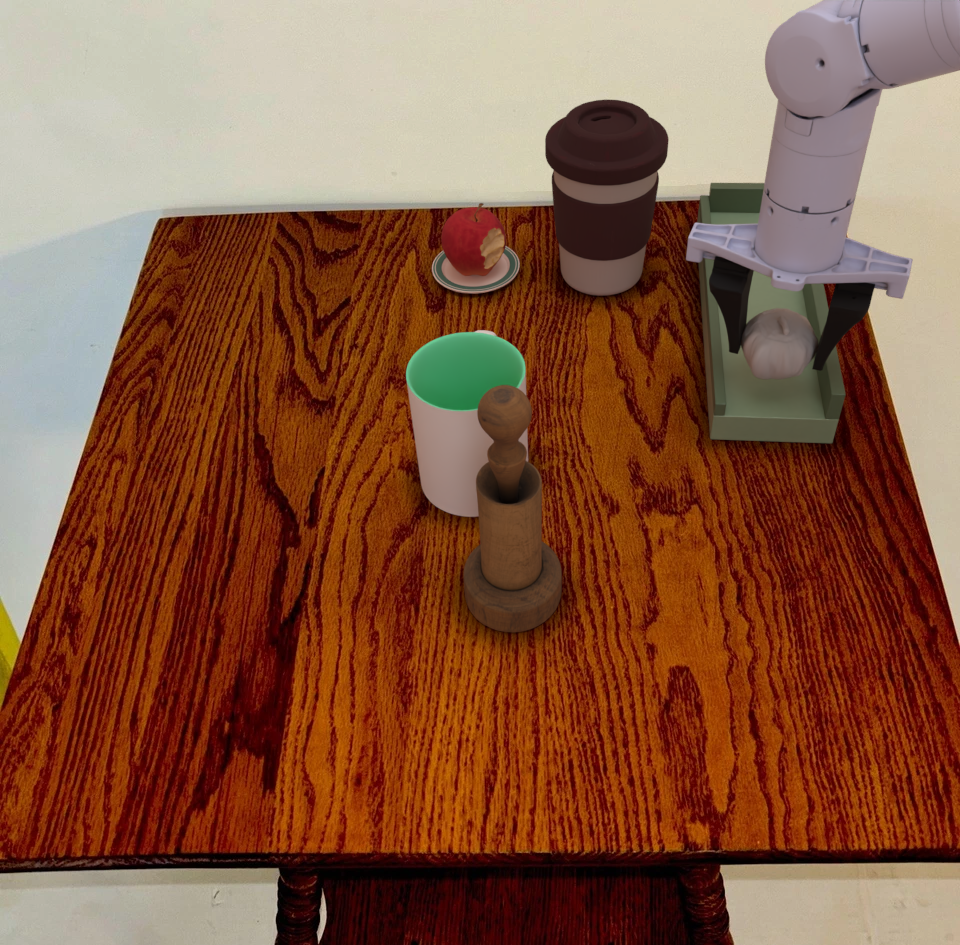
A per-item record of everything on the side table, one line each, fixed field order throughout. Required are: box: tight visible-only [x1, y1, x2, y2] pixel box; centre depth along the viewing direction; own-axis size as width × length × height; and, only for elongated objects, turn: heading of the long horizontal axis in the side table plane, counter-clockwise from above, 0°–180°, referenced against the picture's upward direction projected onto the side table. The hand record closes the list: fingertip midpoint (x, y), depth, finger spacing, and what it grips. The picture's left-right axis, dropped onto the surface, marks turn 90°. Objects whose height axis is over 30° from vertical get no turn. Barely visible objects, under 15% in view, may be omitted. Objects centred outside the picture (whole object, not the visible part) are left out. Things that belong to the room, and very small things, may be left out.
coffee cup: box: [544, 99, 670, 296], centre depth 88 cm, size 10×10×15 cm
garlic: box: [741, 308, 818, 379], centre depth 75 cm, size 6×5×5 cm
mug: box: [405, 329, 529, 518], centre depth 75 cm, size 12×8×10 cm
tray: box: [696, 182, 846, 444], centre depth 86 cm, size 28×9×5 cm, turn 174°
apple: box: [431, 202, 520, 294], centre depth 92 cm, size 8×8×6 cm
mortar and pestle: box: [463, 385, 563, 633], centre depth 63 cm, size 7×6×18 cm
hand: (776, 353), depth 76 cm, fingers closed on garlic, 5 cm apart
